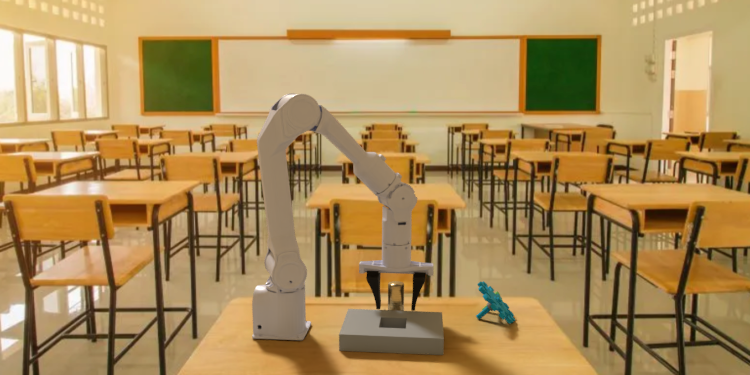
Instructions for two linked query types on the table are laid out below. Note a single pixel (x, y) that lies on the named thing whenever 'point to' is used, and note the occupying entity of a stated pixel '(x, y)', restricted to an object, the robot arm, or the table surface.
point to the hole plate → (392, 332)
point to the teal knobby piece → (494, 303)
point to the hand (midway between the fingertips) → (395, 308)
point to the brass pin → (396, 296)
